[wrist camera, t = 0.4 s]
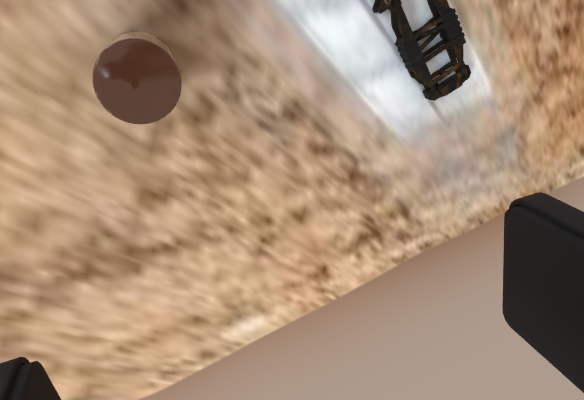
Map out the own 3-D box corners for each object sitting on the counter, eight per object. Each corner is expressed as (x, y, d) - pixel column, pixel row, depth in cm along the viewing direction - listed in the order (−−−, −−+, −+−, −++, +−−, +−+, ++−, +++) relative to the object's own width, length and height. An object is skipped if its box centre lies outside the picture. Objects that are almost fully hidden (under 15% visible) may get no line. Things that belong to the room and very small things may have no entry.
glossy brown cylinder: (92, 39, 32) (79, 48, 26) (164, 24, 33) (167, 30, 27) (116, 109, 35) (109, 133, 28) (183, 93, 35) (191, 113, 29)
